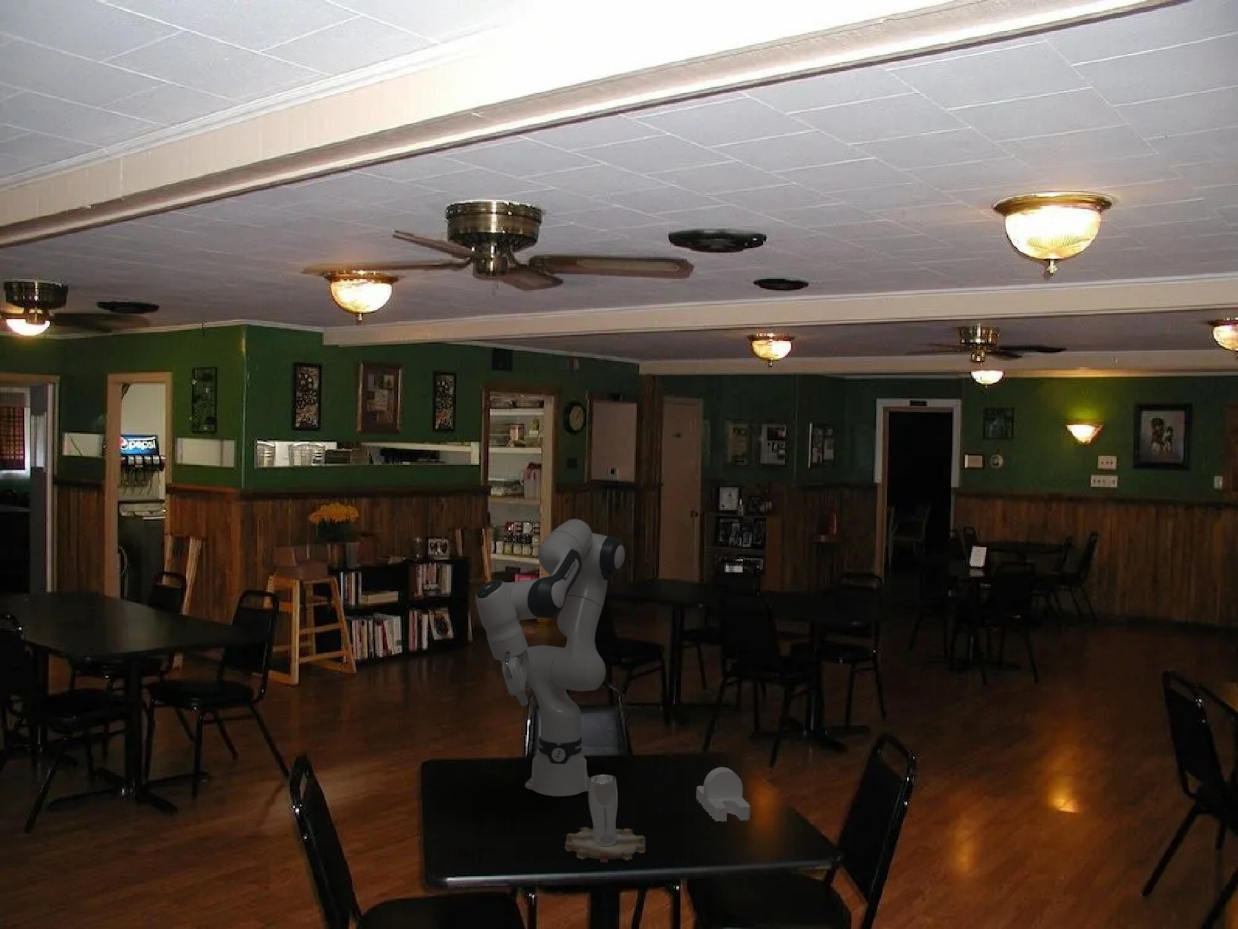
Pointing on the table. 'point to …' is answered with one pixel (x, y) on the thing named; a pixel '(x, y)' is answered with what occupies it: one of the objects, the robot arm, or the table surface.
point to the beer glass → (603, 809)
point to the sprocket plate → (621, 849)
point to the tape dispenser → (723, 795)
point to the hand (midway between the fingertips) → (526, 696)
